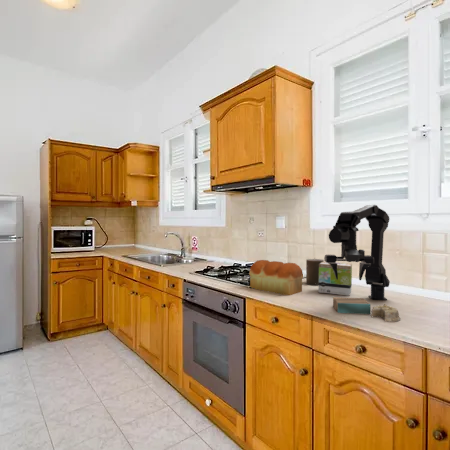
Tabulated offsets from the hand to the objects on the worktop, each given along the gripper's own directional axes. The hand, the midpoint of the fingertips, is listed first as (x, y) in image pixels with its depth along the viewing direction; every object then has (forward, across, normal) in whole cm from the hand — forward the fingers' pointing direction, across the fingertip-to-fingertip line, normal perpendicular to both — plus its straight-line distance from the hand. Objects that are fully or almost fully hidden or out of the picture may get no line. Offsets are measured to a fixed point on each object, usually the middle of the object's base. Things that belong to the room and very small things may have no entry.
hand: (348, 279), depth 133 cm
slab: (+10, 0, +1) cm, 10 cm away
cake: (+12, +10, -13) cm, 20 cm away
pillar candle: (+12, -7, +50) cm, 52 cm away
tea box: (+12, 0, +28) cm, 30 cm away
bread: (+12, -29, +30) cm, 43 cm away
